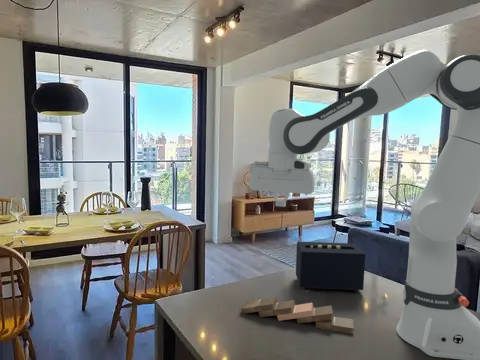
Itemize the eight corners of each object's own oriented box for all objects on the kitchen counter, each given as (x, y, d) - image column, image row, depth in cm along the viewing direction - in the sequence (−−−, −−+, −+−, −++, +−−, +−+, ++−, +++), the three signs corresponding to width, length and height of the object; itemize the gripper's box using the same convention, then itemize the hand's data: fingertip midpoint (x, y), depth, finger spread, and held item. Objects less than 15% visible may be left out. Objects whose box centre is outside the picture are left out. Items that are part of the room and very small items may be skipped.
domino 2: (263, 309, 106) (295, 305, 103) (260, 317, 101) (293, 312, 98) (262, 304, 106) (293, 299, 102) (258, 312, 101) (291, 307, 98)
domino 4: (298, 315, 102) (332, 310, 100) (298, 323, 98) (333, 319, 95) (297, 310, 102) (331, 305, 100) (296, 318, 98) (332, 313, 95)
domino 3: (281, 312, 104) (313, 307, 101) (278, 320, 99) (312, 315, 96) (279, 307, 104) (312, 302, 101) (277, 315, 99) (311, 310, 96)
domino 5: (316, 319, 101) (352, 324, 98) (315, 328, 96) (353, 334, 93) (317, 313, 101) (353, 319, 98) (315, 322, 96) (353, 328, 93)
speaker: (352, 279, 131) (354, 241, 129) (363, 294, 118) (365, 252, 116) (295, 277, 132) (296, 239, 130) (299, 292, 119) (301, 249, 117)
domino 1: (247, 306, 107) (277, 301, 104) (242, 313, 103) (274, 309, 100) (245, 301, 107) (276, 296, 104) (241, 308, 103) (272, 303, 100)
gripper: (247, 161, 108) (246, 205, 109) (313, 164, 101) (311, 210, 102) (253, 160, 113) (252, 202, 115) (316, 163, 107) (314, 207, 108)
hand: (280, 206), depth 109 cm, fingers closed
